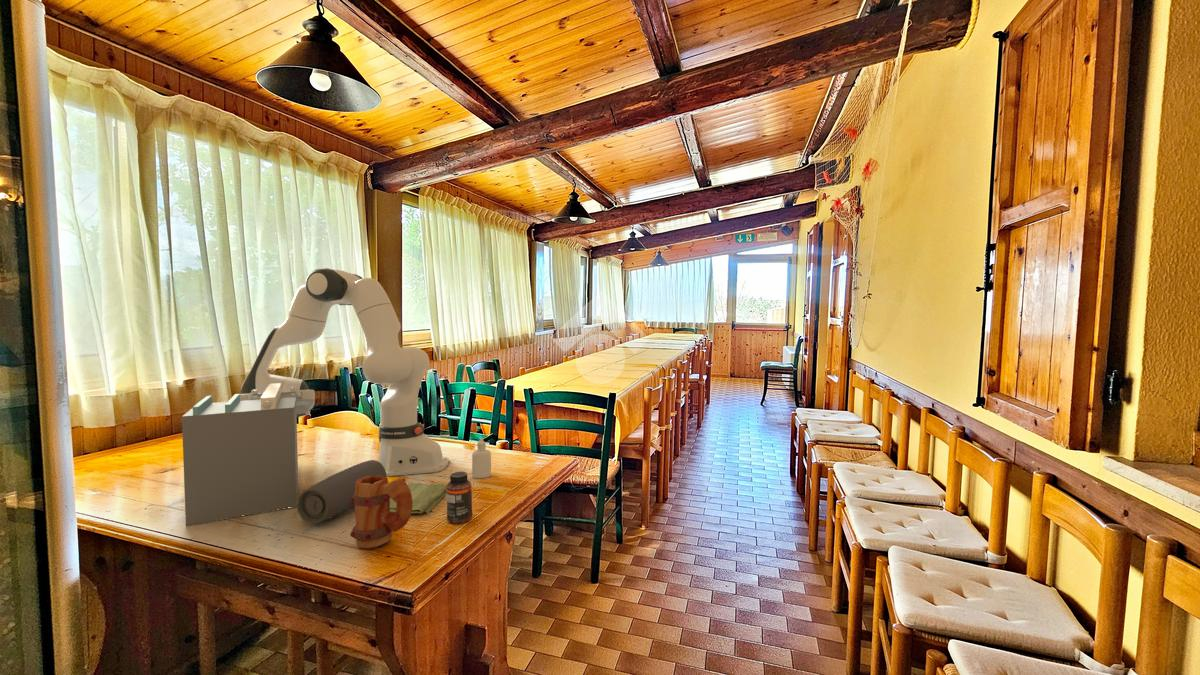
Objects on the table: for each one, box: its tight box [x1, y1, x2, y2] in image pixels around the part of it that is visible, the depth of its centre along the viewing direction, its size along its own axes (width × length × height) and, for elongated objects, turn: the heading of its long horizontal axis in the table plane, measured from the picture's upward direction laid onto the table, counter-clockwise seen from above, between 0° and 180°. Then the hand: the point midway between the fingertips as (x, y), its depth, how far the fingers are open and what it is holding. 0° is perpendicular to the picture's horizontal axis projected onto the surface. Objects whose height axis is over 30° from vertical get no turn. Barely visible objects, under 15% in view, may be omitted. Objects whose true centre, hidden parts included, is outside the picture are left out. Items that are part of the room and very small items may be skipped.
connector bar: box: [261, 383, 282, 410], centre depth 131 cm, size 31×3×3 cm, turn 31°
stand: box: [181, 393, 299, 527], centre depth 125 cm, size 18×22×28 cm
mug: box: [349, 476, 413, 549], centre depth 103 cm, size 15×8×15 cm, turn 69°
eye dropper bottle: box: [471, 437, 492, 479], centre depth 148 cm, size 4×6×12 cm
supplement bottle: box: [445, 470, 473, 524], centre depth 117 cm, size 6×6×11 cm
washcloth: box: [390, 481, 447, 515], centre depth 128 cm, size 13×18×3 cm
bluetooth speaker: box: [296, 459, 388, 524], centre depth 123 cm, size 23×9×10 cm, turn 171°
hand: (274, 390), depth 139 cm, fingers open, 8 cm apart
